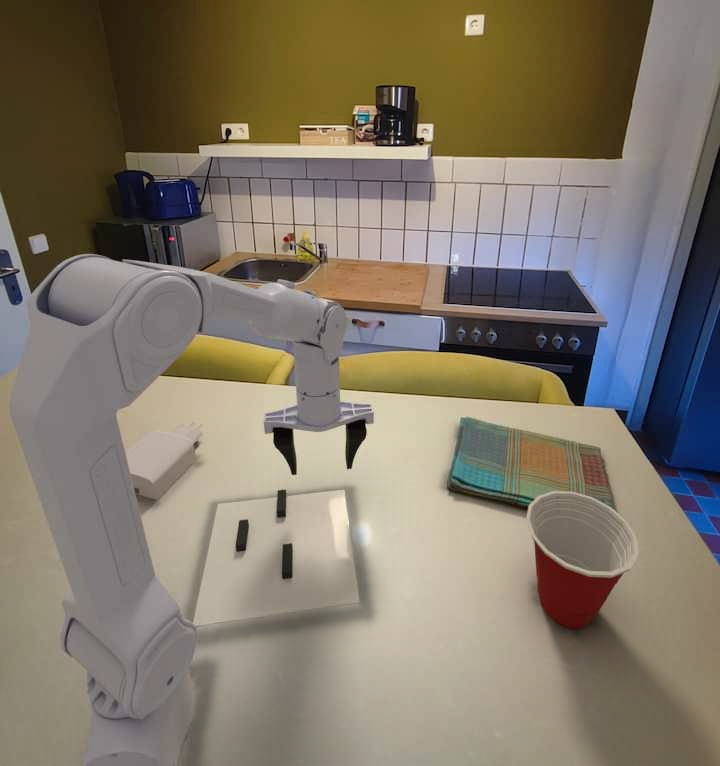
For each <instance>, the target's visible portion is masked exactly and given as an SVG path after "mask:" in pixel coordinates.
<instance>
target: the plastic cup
mask: <svg viewBox="0 0 720 766" xmlns="http://www.w3.org/2000/svg"><path fill="white" fill-rule="evenodd" d="M525 521H526V524H527V526H528V530H529V532H530V536H531V538H532V541H533V543H534V557H535V558H534V560H535V571H536V572H535V573H536V579H537V593H538V598H539V601H540V604H541V606H542V608H543V609H544V611H545V613H546V614H547V615H548V616H549V617H550V618H551V619H552V620H553V621H554V622H556V623H557V624H559V625H561V626H563V627H566V628H567V629H573V630H581V629H584V628H585V627H588V625H591V622H592V621H593V619H594V618H595V617H596V615H597V613H598V612H599V611H600V610H601V609H602V607H603V606H604V604H605V603H606V601H607V599H608V597H609V596H610V594H611V592H612V591H613V590H614V587H615V586H616V585H617V584H618V582H619V580H620V579H621V578H622V576H623V575H624V574H625V573H627V572H629V571H630V570H631V569H632V567H633V565H634V564H635V562H636V560H637V559H638V558H639V555H640V552H639V543H638V542H639V540H638V537H637V536H636V534H635V531H634V530H633V528H632V527H631V526H630V523H629V522H628V521H627V520H626V519H625V518H624V517H623V516H621V515H620V514H619V513H618V512H617V511H616V509H615V510H613V509H612V508H611V507H609V506H607V505H606V504H604V503H602V502H600V501H598V500H596V499H594V498H593V497H590V496H586V495H582V494H579V493H575V492H570V491H552V492H549V493H546V494H543V495H540V496H538V497H537V498H536V499H535V500H534V501H533V502H532V503H531V504H530V505H529V507H527V513H526V516H525Z"/></svg>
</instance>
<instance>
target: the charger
mask: <svg viewBox="0 0 720 766" xmlns="http://www.w3.org/2000/svg"><path fill="white" fill-rule="evenodd" d="M194 424H195V422H194V421H191V422H190V423H189V424H188V425H185V424H181V425H176V427H174V428H173V429H172V430H171V431H166V430H163V429H155V430H150V431H148V432H147V433H146V434H145V435H144V436H143V437H141V438H140V439H138V440H137V441H136V442H135V443H134V444H133V445H131V446H130V447H129V448H128V449H127V450H125V454H126V458H127V462H128V466H129V470H130V474H131V478H132V482H133V486H134V491H135V495H139V496H142V497H145V498H148V499H151V500H155V501H158V500H159V499H160V498H161V497H162V496H163V495H164V494H165V493H166V492H167V490H169V489H170V487H171V486H172V485H174V483H176V481H177V480H178V479H179V478H180V477H182V475H183V474H184V473H185V472H186V471H187V470H189V468H190V467H191V466H192V465H194V463H195V462H196V461H197V456H196V450H195V443H196V442H197V441H198V440H200V439H201V437H202V436H203V433H202V432H201V431H200V430H199V429H200V428H201V427H202V426H203V424H202V423H199V424H197V426H196V427H193V425H194Z"/></svg>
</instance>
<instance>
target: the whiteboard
mask: <svg viewBox="0 0 720 766" xmlns="http://www.w3.org/2000/svg"><path fill="white" fill-rule="evenodd" d="M348 512H349V511H348V505H347V497H346V490H345V489H338V490H337V489H336V490H328V491H320V492H319V491H318V492H310V493H301V494H293V495H286V517H279V518H277V496H275V497H274V496H273V497H266V498H258V499H249V500H240V501H232V502H231V501H230V502H222V503H217V506H216V511H215V515H214V520H213V525H212V529H211V534H210V539H209V544H208V549H207V552H206V558H205V564H204V568H203V572H202V577H201V582H200V587H199V591H198V595H197V601H196V606H195V611H194V615H193V619H192V623H193V624H194V625H195V627H201V626H208V625H214V624H221V623H228V622H235V621H241V620H242V621H244V620H249V619H255V618H263V617H269V616H276V615H282V614H289V613H296V612H303V611H311V610H317V609H323V608H324V609H325V608H330V607H331V608H332V607H336V606H343V605H350V604H351V605H352V604H357V603H360V596H359V595H360V594H359V587H358V580H357V572H356V565H355V556H354V551H353V543H352V535H351V528H350V527H351V526H350V520H349V514H348ZM246 519H248V522H249V529H248V537H247V546H246V551H239V552H237V551H236V539H237V532H238V525H239V520H246ZM289 543H292V548H293V569H292V578H289V579H282V552H283V544H289Z"/></svg>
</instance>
